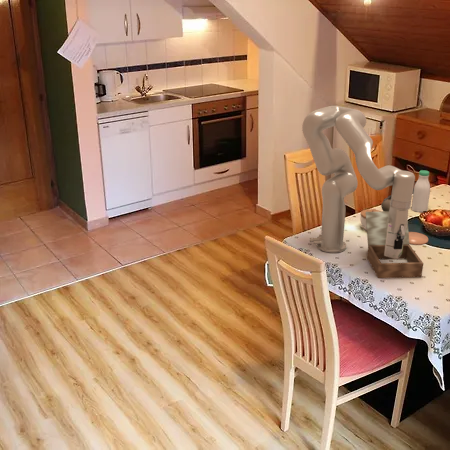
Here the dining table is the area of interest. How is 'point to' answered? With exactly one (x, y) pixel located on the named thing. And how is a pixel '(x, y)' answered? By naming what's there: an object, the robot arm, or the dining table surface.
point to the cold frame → (377, 248)
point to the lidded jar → (363, 216)
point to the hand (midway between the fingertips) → (394, 243)
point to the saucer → (417, 238)
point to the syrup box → (392, 244)
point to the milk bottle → (421, 192)
